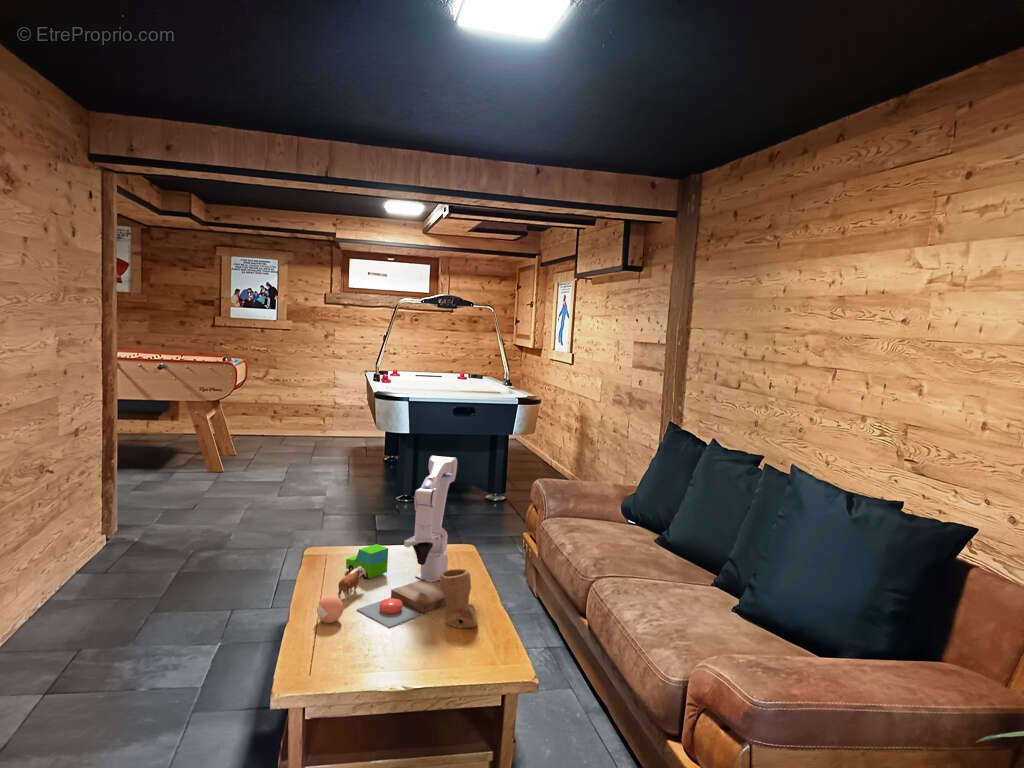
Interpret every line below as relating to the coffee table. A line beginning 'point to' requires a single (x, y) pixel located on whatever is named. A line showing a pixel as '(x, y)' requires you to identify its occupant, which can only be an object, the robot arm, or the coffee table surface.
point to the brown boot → (458, 598)
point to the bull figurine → (350, 582)
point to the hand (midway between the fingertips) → (421, 563)
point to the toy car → (370, 561)
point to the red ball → (390, 606)
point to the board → (420, 596)
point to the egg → (330, 608)
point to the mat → (385, 619)
